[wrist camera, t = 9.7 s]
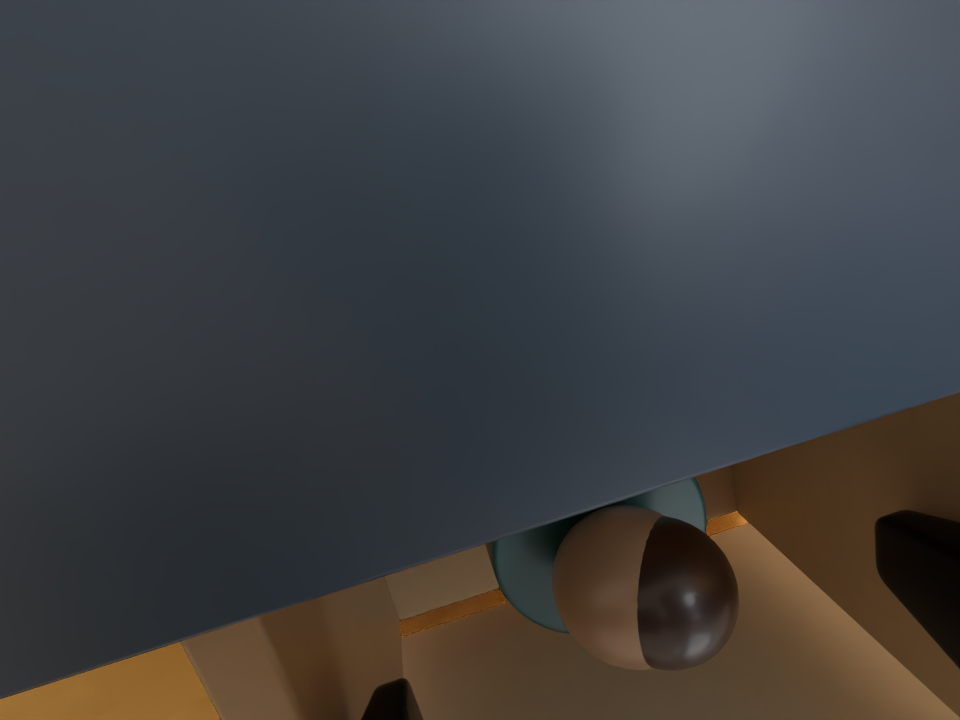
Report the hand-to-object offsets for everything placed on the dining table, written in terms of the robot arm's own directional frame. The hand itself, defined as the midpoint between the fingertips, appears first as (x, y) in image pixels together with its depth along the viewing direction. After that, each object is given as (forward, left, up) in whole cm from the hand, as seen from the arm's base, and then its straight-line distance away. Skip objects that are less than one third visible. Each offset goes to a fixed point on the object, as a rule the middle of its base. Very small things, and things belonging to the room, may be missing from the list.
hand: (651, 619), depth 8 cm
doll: (0, 0, -5) cm, 5 cm away
